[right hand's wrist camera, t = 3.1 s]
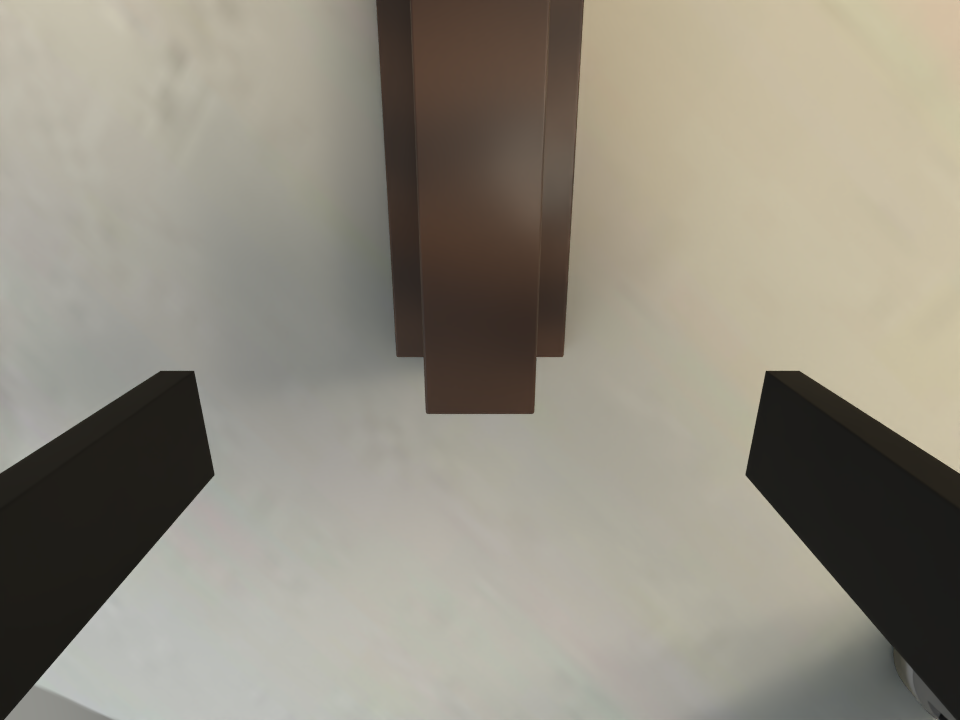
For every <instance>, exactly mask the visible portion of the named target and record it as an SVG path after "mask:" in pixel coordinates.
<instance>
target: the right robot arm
mask: <svg viewBox="0 0 960 720" xmlns="http://www.w3.org/2000/svg"><path fill="white" fill-rule="evenodd" d="M213 476H214V470H213V464H212V459H211V454H210V449H209V444H208V439H207V434H206V429H205V424H204V419H203V414H202V409H201V404H200V399H199V394H198V389H197V384H196V378H195V373H194V371H160V372H158V373H157V374H155V375H154V376H152V377H150V378H149V379H147V380H146V381H144V382H143V383H141V384H140V385H138V386H136V387H135V388H133V389H132V390H130V391H129V392H127V393H125V394H124V395H122V396H121V397H119V398H118V399H116V400H115V401H113V402H111V403H110V404H108V405H107V406H105V407H104V408H102V409H100V410H99V411H97V412H96V413H94V414H93V415H91V416H90V417H88V418H86V419H85V420H83V421H82V422H80V423H79V424H77V425H76V426H74V427H72V428H71V429H69V430H68V431H66V432H65V433H63V434H61V435H60V436H58V437H57V438H55V439H54V440H52V441H51V442H49V443H47V444H46V445H44V446H43V447H41V448H40V449H38V450H36V451H35V452H33V453H32V454H30V455H29V456H27V457H26V458H24V459H22V460H21V461H19V462H18V463H16V464H15V465H13V466H12V467H10V468H8V469H7V470H5V471H4V472H2V473H1V474H0V720H4V719H5V718H6V717H7V716H8V714H9V713H10V712H11V711H12V710H13V709H14V708H15V706H16V705H17V704H18V703H19V702H20V701H21V699H22V698H23V697H24V696H25V695H26V694H27V692H28V691H29V690H30V689H31V688H32V687H33V685H34V684H35V683H36V682H37V681H38V680H39V678H40V677H41V676H42V675H43V674H44V673H45V671H46V670H47V669H48V668H49V667H50V666H51V665H52V663H53V662H54V661H55V660H56V659H57V658H58V656H59V655H60V654H61V653H62V652H63V651H64V649H65V648H66V647H67V646H68V645H69V644H70V642H71V641H72V640H73V639H74V638H75V637H76V635H77V634H78V633H79V632H80V631H81V630H82V628H83V627H84V626H85V625H86V624H87V623H88V622H89V620H90V619H91V618H92V617H93V616H94V615H95V613H96V612H97V611H98V610H99V609H100V608H101V606H102V605H103V604H104V603H105V602H106V601H107V599H108V598H109V597H110V596H111V595H112V594H113V592H114V591H115V590H116V589H117V588H118V587H119V585H120V584H121V583H122V582H123V581H124V580H125V578H126V577H127V576H128V575H129V574H130V573H131V572H132V570H133V569H134V568H135V567H136V566H137V565H138V563H139V562H140V561H141V560H142V559H143V558H144V556H145V555H146V554H147V553H148V552H149V551H150V549H151V548H152V547H153V546H154V545H155V544H156V542H157V541H158V540H159V539H160V538H161V537H162V535H163V534H164V533H165V532H166V531H167V530H168V528H169V527H170V526H171V525H172V524H173V523H174V522H175V520H176V519H177V518H178V517H179V516H180V515H181V513H182V512H183V511H184V510H185V509H186V508H187V506H188V505H189V504H190V503H191V502H192V501H193V499H194V498H195V497H196V496H197V495H198V494H199V492H200V491H201V490H202V489H203V488H204V487H205V485H206V484H207V483H208V482H209V481H210V480H211V479H212V477H213ZM746 476H747V477H748V479H749V480H750V481H751V482H752V483H753V484H754V485H755V487H756V488H757V489H758V490H759V491H760V492H761V494H762V495H763V496H764V497H765V498H766V499H767V501H768V502H769V503H770V504H771V505H772V506H773V508H774V509H775V510H776V511H777V512H778V513H779V515H780V516H781V517H782V518H783V519H784V520H785V522H786V523H787V524H788V525H789V526H790V527H791V528H792V530H793V531H794V532H795V533H796V534H797V535H798V537H799V538H800V539H801V540H802V541H803V542H804V544H805V545H806V546H807V547H808V548H809V549H810V551H811V552H812V553H813V554H814V555H815V556H816V558H817V559H818V560H819V561H820V562H821V563H822V565H823V566H824V567H825V568H826V569H827V570H828V572H829V573H830V574H831V575H832V576H833V577H834V578H835V580H836V581H837V582H838V583H839V584H840V585H841V587H842V588H843V589H844V590H845V591H846V592H847V594H848V595H849V596H850V597H851V598H852V599H853V601H854V602H855V603H856V604H857V605H858V606H859V608H860V609H861V610H862V611H863V612H864V613H865V615H866V616H867V617H868V618H869V619H870V620H871V622H872V623H873V624H874V625H875V626H876V627H877V628H878V630H879V631H880V632H881V633H882V634H883V635H884V637H885V638H886V639H887V640H888V641H889V642H890V644H891V645H892V646H893V647H894V663H895V667H896V670H897V672H898V675H899V677H900V678H901V680H902V681H903V683H904V684H905V685H906V687H907V688H908V689H909V690H910V691H911V693H912V694H913V695H914V696H915V698H916V699H917V700H918V701H919V702H920V704H921V705H922V706H923V707H924V708H925V710H926V711H927V712H929V713H930V714H931V715H932V716H933V717H935V718H936V719H937V720H960V474H959V473H958V472H956V471H955V470H953V469H952V468H950V467H948V466H947V465H945V464H944V463H942V462H941V461H939V460H938V459H936V458H934V457H933V456H931V455H930V454H928V453H927V452H925V451H924V450H922V449H920V448H919V447H917V446H916V445H914V444H913V443H911V442H909V441H908V440H906V439H905V438H903V437H902V436H900V435H899V434H897V433H895V432H894V431H892V430H891V429H889V428H888V427H886V426H884V425H883V424H881V423H880V422H878V421H877V420H875V419H874V418H872V417H870V416H869V415H867V414H866V413H864V412H863V411H861V410H860V409H858V408H856V407H855V406H853V405H852V404H850V403H849V402H847V401H845V400H844V399H842V398H841V397H839V396H838V395H836V394H835V393H833V392H831V391H830V390H828V389H827V388H825V387H824V386H822V385H820V384H819V383H817V382H816V381H814V380H813V379H811V378H810V377H808V376H806V375H805V374H803V373H802V372H800V371H766V373H765V378H764V383H763V389H762V394H761V399H760V404H759V409H758V414H757V419H756V424H755V429H754V434H753V439H752V444H751V449H750V454H749V459H748V464H747V470H746Z"/></svg>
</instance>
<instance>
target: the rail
mask: <svg viewBox="0 0 960 720" xmlns="http://www.w3.org/2000/svg"><path fill="white" fill-rule="evenodd" d="M376 3H377V20H378V38H379V55H380V73H381V91H382V108H383V126H384V143H385V161H386V179H387V196H388V214H389V231H390V249H391V267H392V284H393V302H394V319H395V337H396V355H397V357H424V377H425V403H426V413H427V414H533V413H534V406H535V380H536V357H563V355H564V339H565V321H566V304H567V286H568V269H569V251H570V234H571V217H572V199H573V182H574V164H575V147H576V129H577V112H578V95H579V77H580V60H581V42H582V25H583V7H584V0H376Z"/></svg>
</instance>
